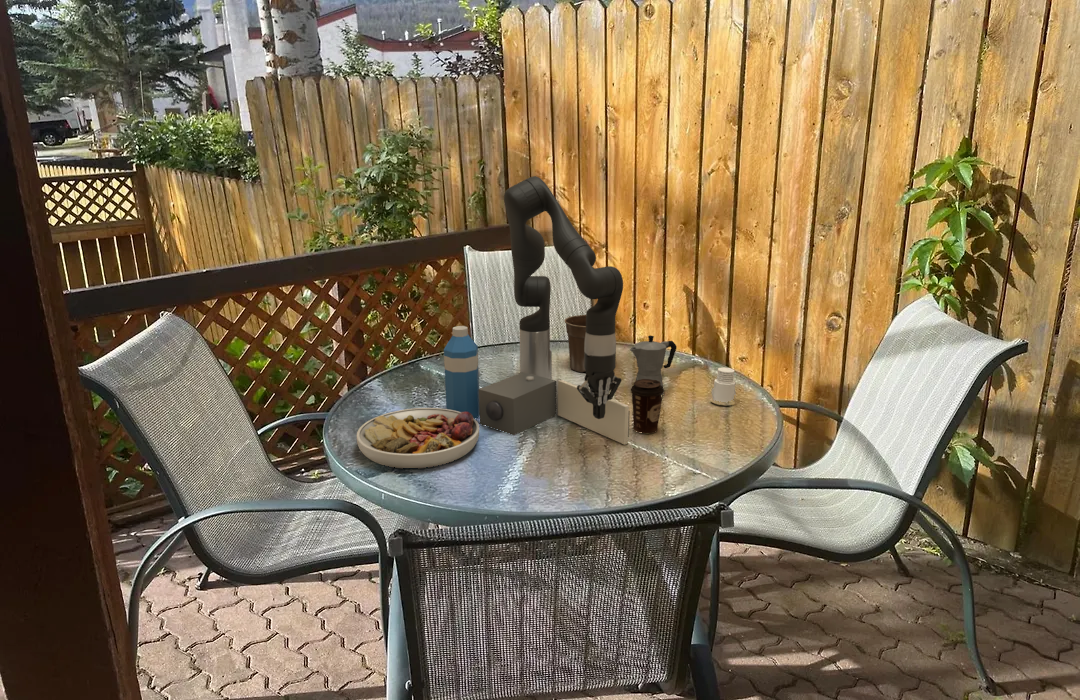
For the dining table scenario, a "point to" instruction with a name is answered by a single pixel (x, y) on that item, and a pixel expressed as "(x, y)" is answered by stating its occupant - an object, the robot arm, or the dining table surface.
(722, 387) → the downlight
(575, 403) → the case door
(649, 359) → the coffeepot
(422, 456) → the bowl
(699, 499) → the dining table surface
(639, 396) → the coffee cup
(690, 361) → the dining table surface
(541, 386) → the grey button box
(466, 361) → the water bottle
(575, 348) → the plant pot
